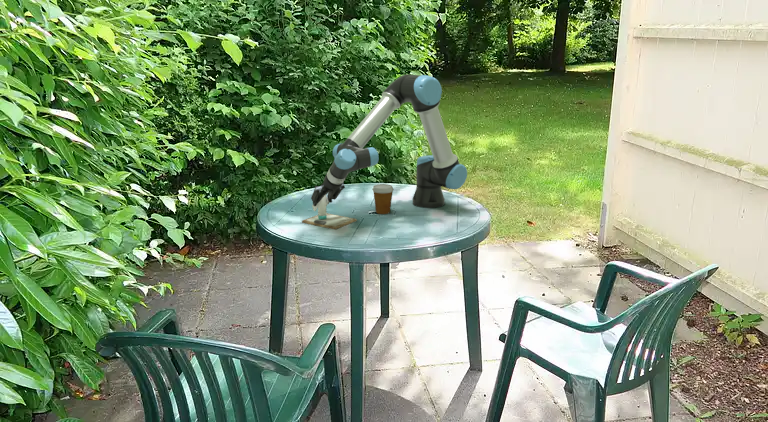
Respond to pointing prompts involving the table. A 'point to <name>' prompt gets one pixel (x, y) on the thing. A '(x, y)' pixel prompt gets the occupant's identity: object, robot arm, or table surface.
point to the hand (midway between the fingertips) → (318, 207)
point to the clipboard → (330, 221)
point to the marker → (322, 209)
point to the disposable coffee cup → (383, 198)
